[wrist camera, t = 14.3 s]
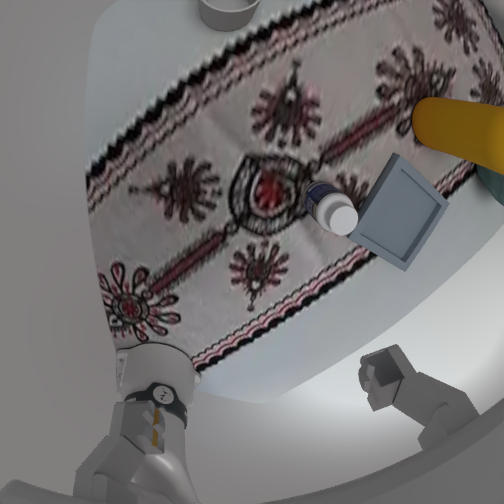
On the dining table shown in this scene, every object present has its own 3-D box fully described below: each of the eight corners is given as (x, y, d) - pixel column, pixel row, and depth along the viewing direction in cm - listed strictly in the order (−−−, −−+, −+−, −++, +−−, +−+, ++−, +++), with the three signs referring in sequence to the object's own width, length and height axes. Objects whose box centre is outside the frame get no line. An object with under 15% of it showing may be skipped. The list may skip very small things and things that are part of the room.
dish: (399, 266, 52) (405, 271, 50) (343, 233, 47) (348, 238, 45) (442, 199, 46) (449, 203, 45) (393, 153, 41) (400, 155, 39)
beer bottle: (453, 128, 40) (585, 176, 14) (426, 157, 42) (563, 224, 17) (431, 87, 36) (578, 112, 11) (401, 115, 38) (559, 158, 13)
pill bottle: (295, 191, 42) (317, 213, 34) (326, 174, 42) (355, 192, 33) (310, 219, 45) (333, 248, 36) (339, 203, 44) (368, 227, 36)
